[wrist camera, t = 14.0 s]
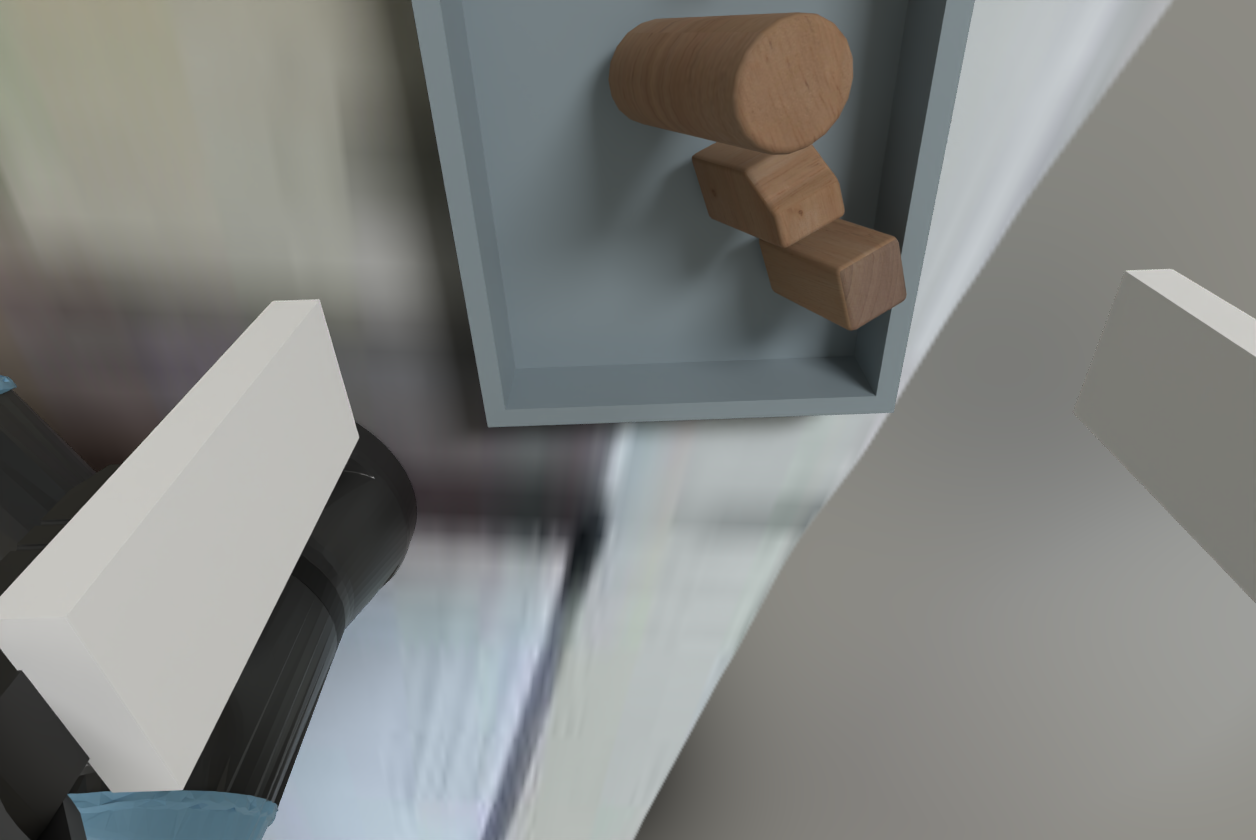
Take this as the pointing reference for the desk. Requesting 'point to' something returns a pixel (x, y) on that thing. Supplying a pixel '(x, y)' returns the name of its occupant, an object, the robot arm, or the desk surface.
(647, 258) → the crate
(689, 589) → the desk surface
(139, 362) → the desk surface
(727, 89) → the wooden block set
